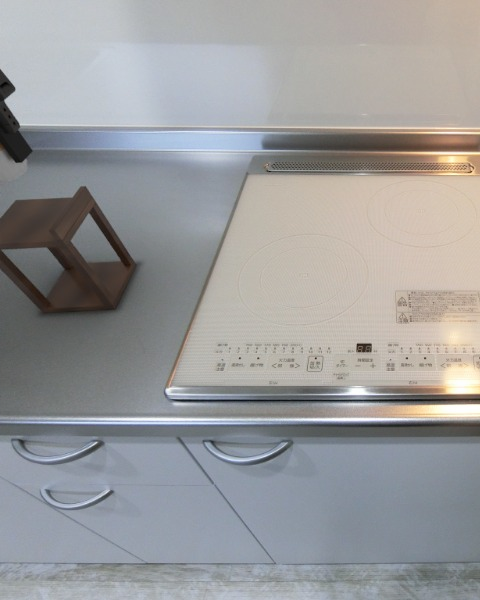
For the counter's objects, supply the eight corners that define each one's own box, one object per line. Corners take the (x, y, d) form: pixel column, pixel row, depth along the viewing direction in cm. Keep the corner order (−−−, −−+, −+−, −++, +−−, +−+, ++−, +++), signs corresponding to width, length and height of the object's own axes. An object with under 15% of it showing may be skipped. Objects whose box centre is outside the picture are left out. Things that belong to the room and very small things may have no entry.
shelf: (43, 313, 68) (-34, 234, 56) (70, 268, 74) (7, 189, 62) (115, 309, 68) (54, 230, 56) (136, 264, 75) (86, 185, 63)
